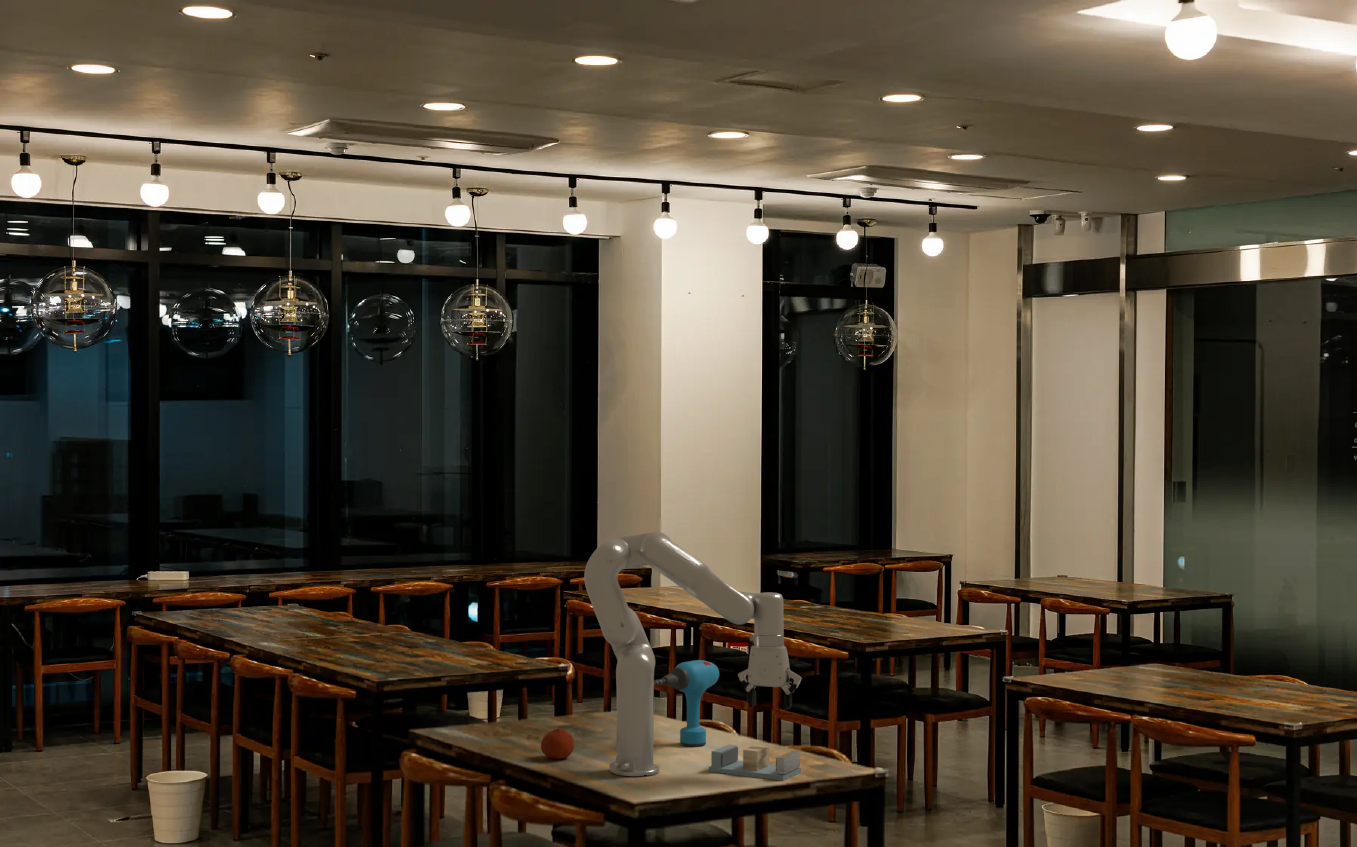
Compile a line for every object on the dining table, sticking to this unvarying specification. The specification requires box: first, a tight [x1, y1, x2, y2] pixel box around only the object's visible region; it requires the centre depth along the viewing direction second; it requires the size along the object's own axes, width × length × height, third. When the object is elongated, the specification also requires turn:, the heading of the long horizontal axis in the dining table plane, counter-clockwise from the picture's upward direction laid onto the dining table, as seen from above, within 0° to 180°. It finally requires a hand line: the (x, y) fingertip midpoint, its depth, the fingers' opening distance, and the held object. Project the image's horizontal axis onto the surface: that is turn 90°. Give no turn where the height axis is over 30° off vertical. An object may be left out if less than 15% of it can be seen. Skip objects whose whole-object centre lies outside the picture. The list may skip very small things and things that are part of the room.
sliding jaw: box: [775, 750, 801, 774], centre depth 405 cm, size 10×2×4 cm, turn 152°
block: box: [742, 744, 770, 771], centre depth 409 cm, size 7×4×5 cm, turn 151°
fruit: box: [540, 728, 575, 760], centre depth 424 cm, size 9×9×8 cm
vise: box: [708, 744, 802, 782], centre depth 409 cm, size 11×21×5 cm, turn 62°
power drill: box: [654, 659, 720, 747], centre depth 440 cm, size 28×9×23 cm, turn 139°
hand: (769, 707), depth 407 cm, fingers open, 9 cm apart
